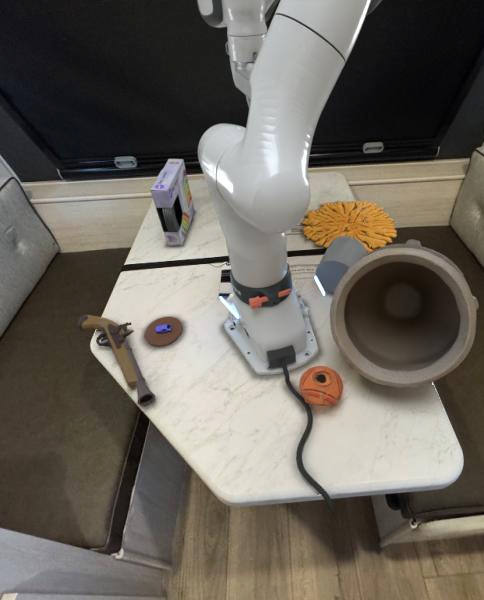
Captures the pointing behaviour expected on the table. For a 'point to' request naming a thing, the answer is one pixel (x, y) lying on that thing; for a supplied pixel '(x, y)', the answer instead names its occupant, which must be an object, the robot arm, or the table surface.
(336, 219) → the coral
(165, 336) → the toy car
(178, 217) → the cake pan box
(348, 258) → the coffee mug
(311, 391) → the pot
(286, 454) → the table surface
